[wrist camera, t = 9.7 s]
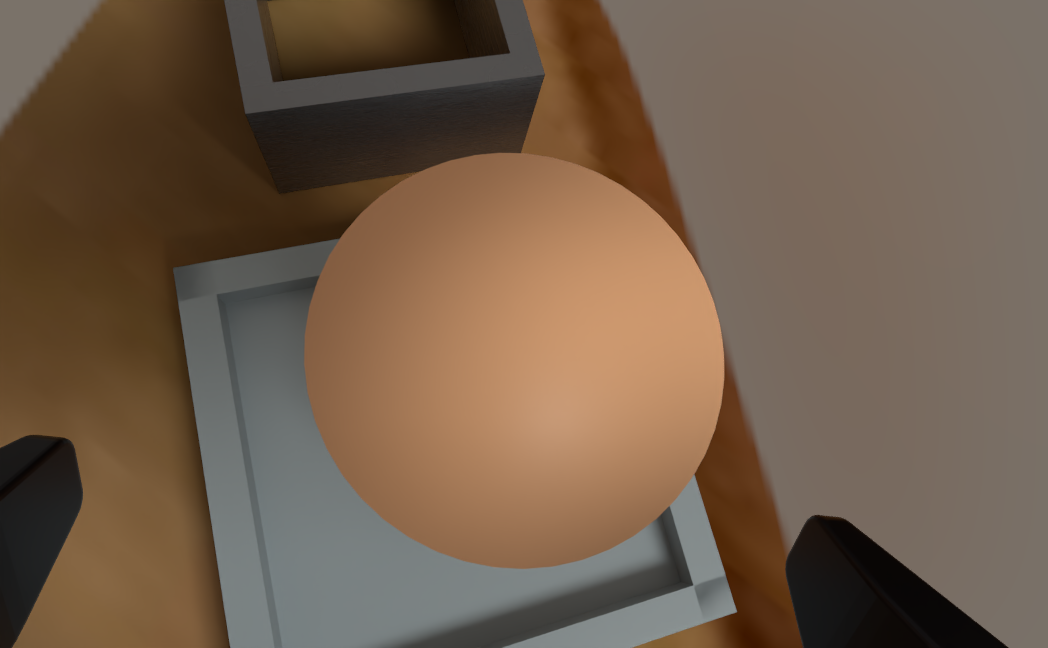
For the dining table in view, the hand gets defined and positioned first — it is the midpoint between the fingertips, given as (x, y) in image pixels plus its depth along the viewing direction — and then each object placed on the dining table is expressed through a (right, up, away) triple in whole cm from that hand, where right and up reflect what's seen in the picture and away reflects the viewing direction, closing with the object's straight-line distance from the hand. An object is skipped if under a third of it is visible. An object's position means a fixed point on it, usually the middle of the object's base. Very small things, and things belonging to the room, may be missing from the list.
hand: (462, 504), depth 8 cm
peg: (-1, -1, +11) cm, 11 cm away
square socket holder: (-4, +11, +15) cm, 19 cm away
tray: (-1, -1, +12) cm, 12 cm away
